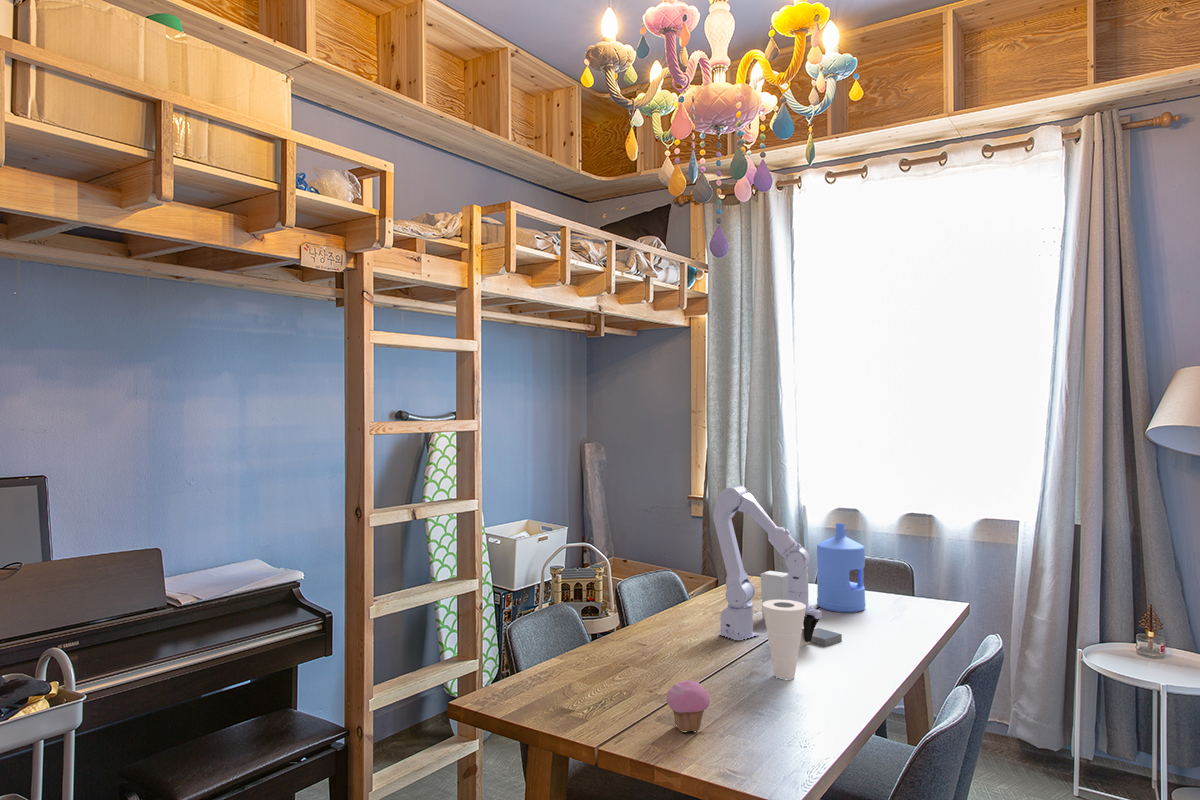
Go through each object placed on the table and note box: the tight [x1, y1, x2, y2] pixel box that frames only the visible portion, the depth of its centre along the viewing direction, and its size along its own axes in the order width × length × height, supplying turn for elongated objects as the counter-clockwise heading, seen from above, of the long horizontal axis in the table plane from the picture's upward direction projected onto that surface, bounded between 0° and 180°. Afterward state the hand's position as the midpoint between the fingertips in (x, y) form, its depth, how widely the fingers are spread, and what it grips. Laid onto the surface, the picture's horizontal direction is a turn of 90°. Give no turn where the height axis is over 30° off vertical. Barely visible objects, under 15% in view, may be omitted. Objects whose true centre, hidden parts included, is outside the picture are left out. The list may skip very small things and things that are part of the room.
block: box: [800, 626, 811, 647], centre depth 215 cm, size 4×4×5 cm
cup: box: [761, 600, 806, 680], centre depth 188 cm, size 11×11×18 cm
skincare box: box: [760, 570, 788, 620], centre depth 240 cm, size 8×6×15 cm
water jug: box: [816, 523, 866, 613], centre depth 255 cm, size 16×16×28 cm
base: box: [810, 627, 843, 647], centre depth 218 cm, size 8×8×2 cm
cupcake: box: [666, 679, 710, 732], centre depth 157 cm, size 9×9×10 cm
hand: (798, 638), depth 215 cm, fingers open, 6 cm apart
